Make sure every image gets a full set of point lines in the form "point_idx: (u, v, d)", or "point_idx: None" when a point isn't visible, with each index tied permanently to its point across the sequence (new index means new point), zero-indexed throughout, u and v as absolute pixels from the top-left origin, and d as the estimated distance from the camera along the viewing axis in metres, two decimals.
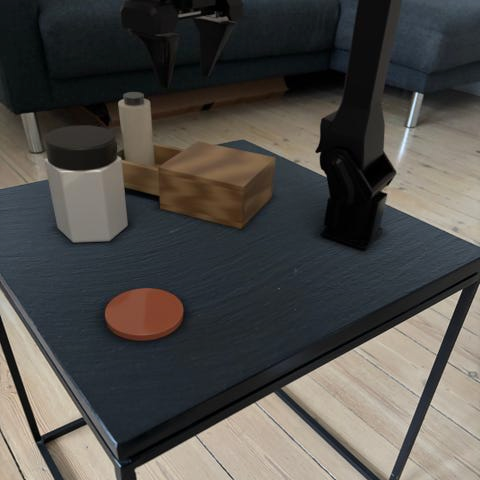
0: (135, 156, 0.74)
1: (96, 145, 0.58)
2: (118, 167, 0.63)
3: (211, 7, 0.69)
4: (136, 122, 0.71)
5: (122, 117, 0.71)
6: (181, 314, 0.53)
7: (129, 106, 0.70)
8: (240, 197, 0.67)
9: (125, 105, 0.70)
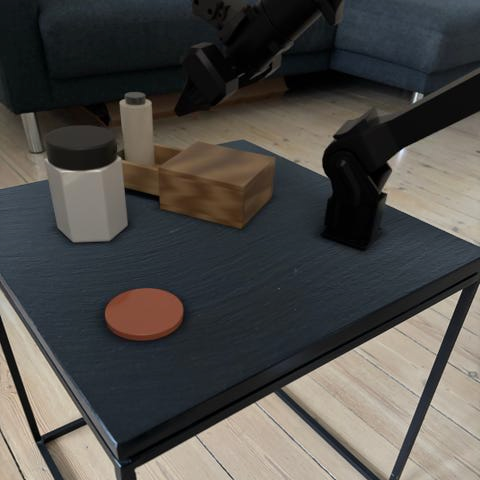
0: (135, 155, 0.74)
1: (96, 145, 0.58)
2: (118, 167, 0.63)
3: None
4: (137, 121, 0.71)
5: (123, 116, 0.71)
6: (181, 314, 0.53)
7: (131, 106, 0.70)
8: (240, 197, 0.67)
9: (126, 104, 0.71)
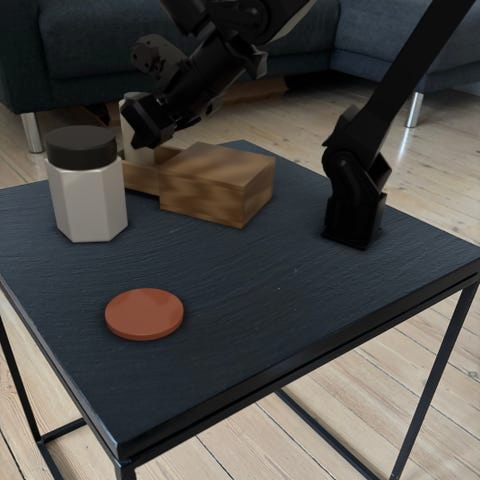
0: (135, 155, 0.74)
1: (96, 145, 0.58)
2: (118, 167, 0.63)
3: None
4: None
5: (123, 117, 0.71)
6: (181, 314, 0.53)
7: None
8: (240, 197, 0.67)
9: None
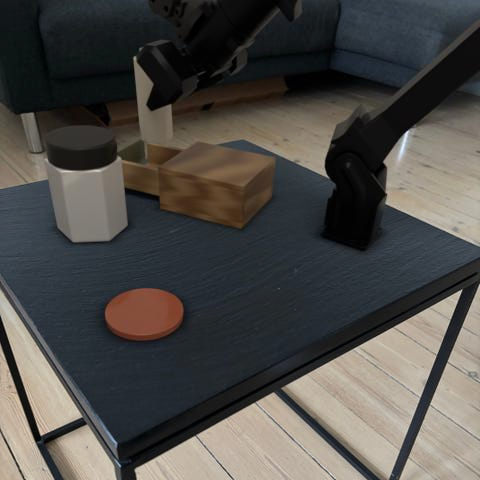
0: (151, 118, 0.67)
1: (96, 145, 0.58)
2: (118, 167, 0.63)
3: None
4: None
5: (138, 73, 0.64)
6: (181, 314, 0.53)
7: None
8: (240, 197, 0.67)
9: None
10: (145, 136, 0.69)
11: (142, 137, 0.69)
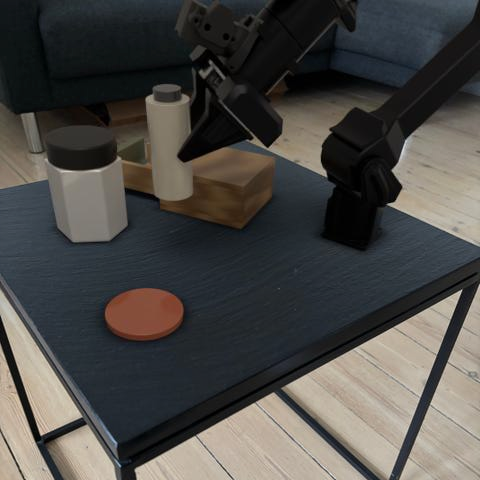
0: (181, 171, 0.54)
1: (96, 145, 0.58)
2: (118, 167, 0.63)
3: None
4: (184, 123, 0.51)
5: (163, 121, 0.51)
6: (181, 314, 0.53)
7: (174, 103, 0.50)
8: (240, 197, 0.67)
9: (166, 103, 0.50)
10: (173, 193, 0.55)
11: (166, 196, 0.56)
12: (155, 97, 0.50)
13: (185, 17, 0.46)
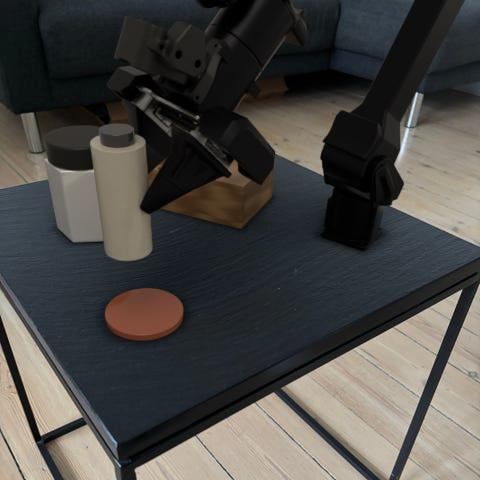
0: (144, 224, 0.45)
1: None
2: None
3: None
4: (144, 169, 0.42)
5: (122, 170, 0.41)
6: (181, 314, 0.53)
7: (133, 147, 0.41)
8: (240, 197, 0.67)
9: (123, 148, 0.40)
10: (136, 252, 0.46)
11: (128, 257, 0.46)
12: (106, 142, 0.41)
13: (140, 43, 0.37)
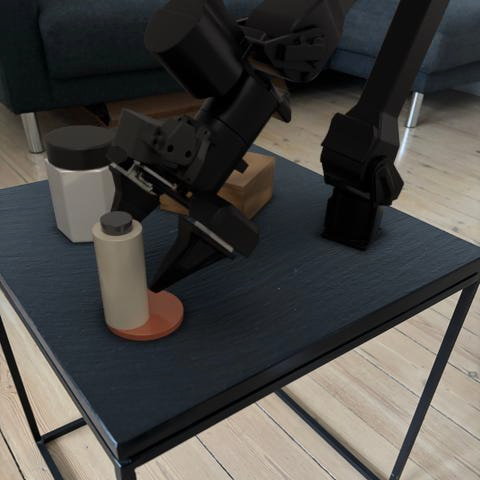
0: (141, 298, 0.49)
1: (96, 145, 0.58)
2: None
3: None
4: (141, 251, 0.47)
5: (121, 255, 0.45)
6: (181, 314, 0.53)
7: (131, 235, 0.45)
8: (240, 197, 0.67)
9: (122, 236, 0.45)
10: (134, 322, 0.50)
11: (126, 326, 0.50)
12: (106, 231, 0.45)
13: (135, 136, 0.41)
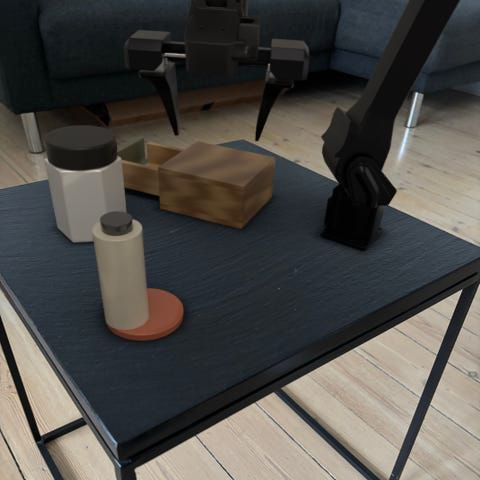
0: (141, 298, 0.49)
1: (96, 145, 0.58)
2: (118, 167, 0.63)
3: None
4: (141, 251, 0.47)
5: (121, 255, 0.45)
6: (181, 314, 0.53)
7: (131, 235, 0.45)
8: (240, 197, 0.67)
9: (122, 236, 0.45)
10: (134, 322, 0.50)
11: (126, 326, 0.50)
12: (106, 231, 0.45)
13: (225, 60, 0.47)
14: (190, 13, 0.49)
